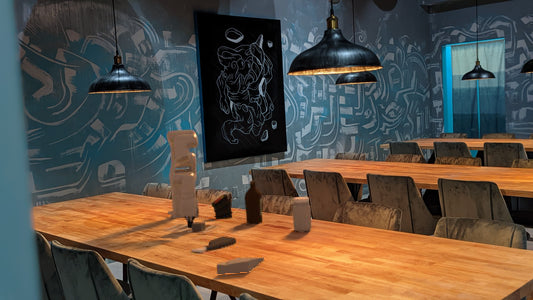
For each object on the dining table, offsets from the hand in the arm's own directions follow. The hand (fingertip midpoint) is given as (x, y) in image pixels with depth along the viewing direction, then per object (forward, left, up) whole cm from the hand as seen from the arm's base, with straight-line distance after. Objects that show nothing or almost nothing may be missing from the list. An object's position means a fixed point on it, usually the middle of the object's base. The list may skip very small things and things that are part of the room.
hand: (190, 227), depth 312 cm
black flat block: (+2, +38, -3) cm, 38 cm away
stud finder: (+5, 0, -1) cm, 5 cm away
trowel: (+57, -62, -3) cm, 84 cm away
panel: (-2, +4, -2) cm, 5 cm away
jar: (+62, +13, -3) cm, 64 cm away
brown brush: (+29, -30, -3) cm, 42 cm away
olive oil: (+27, +30, -3) cm, 41 cm away
